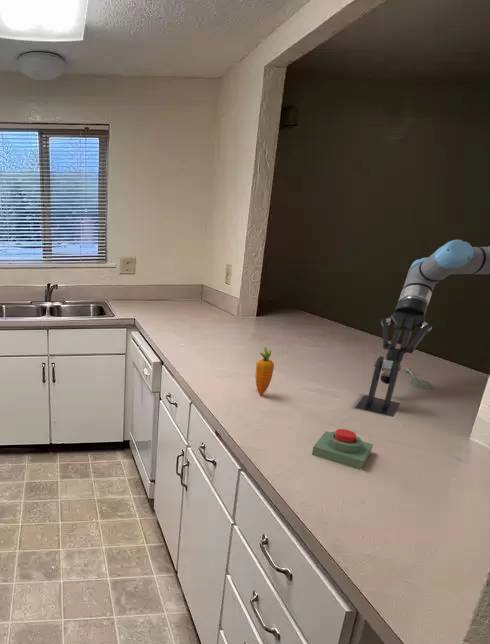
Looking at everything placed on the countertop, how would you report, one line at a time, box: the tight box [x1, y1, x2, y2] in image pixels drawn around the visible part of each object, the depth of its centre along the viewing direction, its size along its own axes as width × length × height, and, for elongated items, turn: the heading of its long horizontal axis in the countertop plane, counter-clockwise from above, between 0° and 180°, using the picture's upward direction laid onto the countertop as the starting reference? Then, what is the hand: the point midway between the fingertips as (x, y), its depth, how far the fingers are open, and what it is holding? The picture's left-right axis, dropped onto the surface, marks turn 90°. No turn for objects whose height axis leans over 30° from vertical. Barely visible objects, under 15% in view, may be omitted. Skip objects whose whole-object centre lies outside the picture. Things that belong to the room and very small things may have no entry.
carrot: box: [255, 346, 275, 396], centre depth 131 cm, size 5×5×15 cm
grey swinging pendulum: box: [380, 359, 394, 385], centre depth 123 cm, size 13×4×4 cm
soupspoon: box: [404, 366, 433, 390], centre depth 143 cm, size 22×3×7 cm
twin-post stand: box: [354, 355, 402, 418], centre depth 120 cm, size 12×9×15 cm
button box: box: [311, 430, 374, 470], centre depth 100 cm, size 10×10×4 cm
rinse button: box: [335, 428, 357, 443], centre depth 99 cm, size 4×4×2 cm
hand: (390, 369), depth 126 cm, fingers closed
